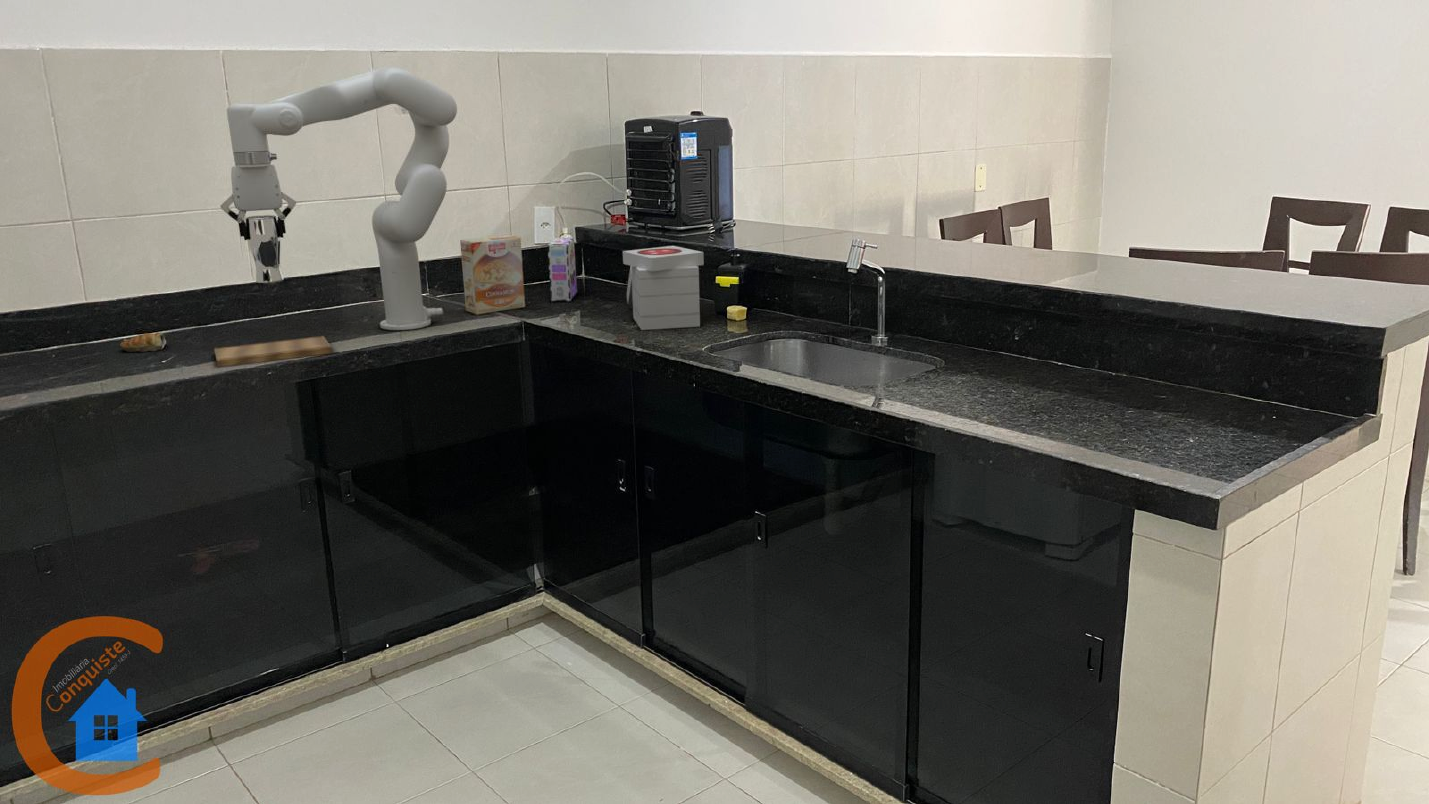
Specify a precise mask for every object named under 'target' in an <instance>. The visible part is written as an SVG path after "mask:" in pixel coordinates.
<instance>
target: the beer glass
mask: <svg viewBox="0 0 1429 804" xmlns="http://www.w3.org/2000/svg"><path fill="white" fill-rule="evenodd" d="M244 220H245V223H246V230H247V236H248V240H247V243H248V247H249V250H250V253H251V256H252V258H253V261H254V265H255V282H256V283H257V284H275V283H280V282H283V281H284V280H285V278H284V275H283V272H282V268H281V262H280V261H281V259H280V258H281V237H280V234H279V228H278V224H277V220H278V219H277V215H273V214H264V215H263V214H262V215H260V214H259V215H250V216H246V217H244Z"/></svg>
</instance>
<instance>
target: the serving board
mask: <svg viewBox="0 0 1429 804" xmlns="http://www.w3.org/2000/svg"><path fill="white" fill-rule="evenodd" d="M332 348H333V347H332V345H331V344H330V343H329V341H328V340H327V338H325V336H324V335H320V336H312V337H311V336H309V337H302V338H295V339H285V340H276V341H275V340H274V341H268V342H259V343H250V344H241V345H233V346H225V347H218V348H217V347H216V348H215V347H214V348H213V351H214V356H215V360H216V364H217V368H220V367H221V368H223V367H229V366H237V365H238V366H239V365H245V364H254V363H262V362H270V361H278V360H279V361H280V360H288V359H294V358H295V359H296V358H304V357H311V356H312V357H313V356H319V355H329V354H333V349H332Z"/></svg>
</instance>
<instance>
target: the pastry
mask: <svg viewBox="0 0 1429 804" xmlns="http://www.w3.org/2000/svg"><path fill="white" fill-rule="evenodd" d="M165 345H167V340H166V337H165V335H164V334H163V332H161V331H160V332H156V333H153V332H150V333H149V332H148V333H147V332H146V333H142V334H138V335H136V336H133V337H131V338H128V339H124V340H123V341H122V342H120V343H119V346H120V348H121V349H122V351H126V352H130V353H132V352H148V351H149V352H150V351H151V352H157V351H161V350H163V349H164V348H165Z"/></svg>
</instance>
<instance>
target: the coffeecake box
mask: <svg viewBox="0 0 1429 804" xmlns="http://www.w3.org/2000/svg"><path fill="white" fill-rule="evenodd" d="M521 238H522V237H521V236H517V235H511V234H507V235H496V236H487V237H478V238H469V239H460V240H459V241H460V242H459V243H460V245H459V246H460V255H461V266H462V280H463V289H464V291H463V292H464V303H465V311H466V312H469V313H472V314H474V315H476V316H477V315H483V314H490V313H496V312H503V311H509V310H515V309H522V308H526V300H525V299H526V297H525V285H524V284H525V283H524V282H525V281H524V271H523V255H522V240H521Z"/></svg>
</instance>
